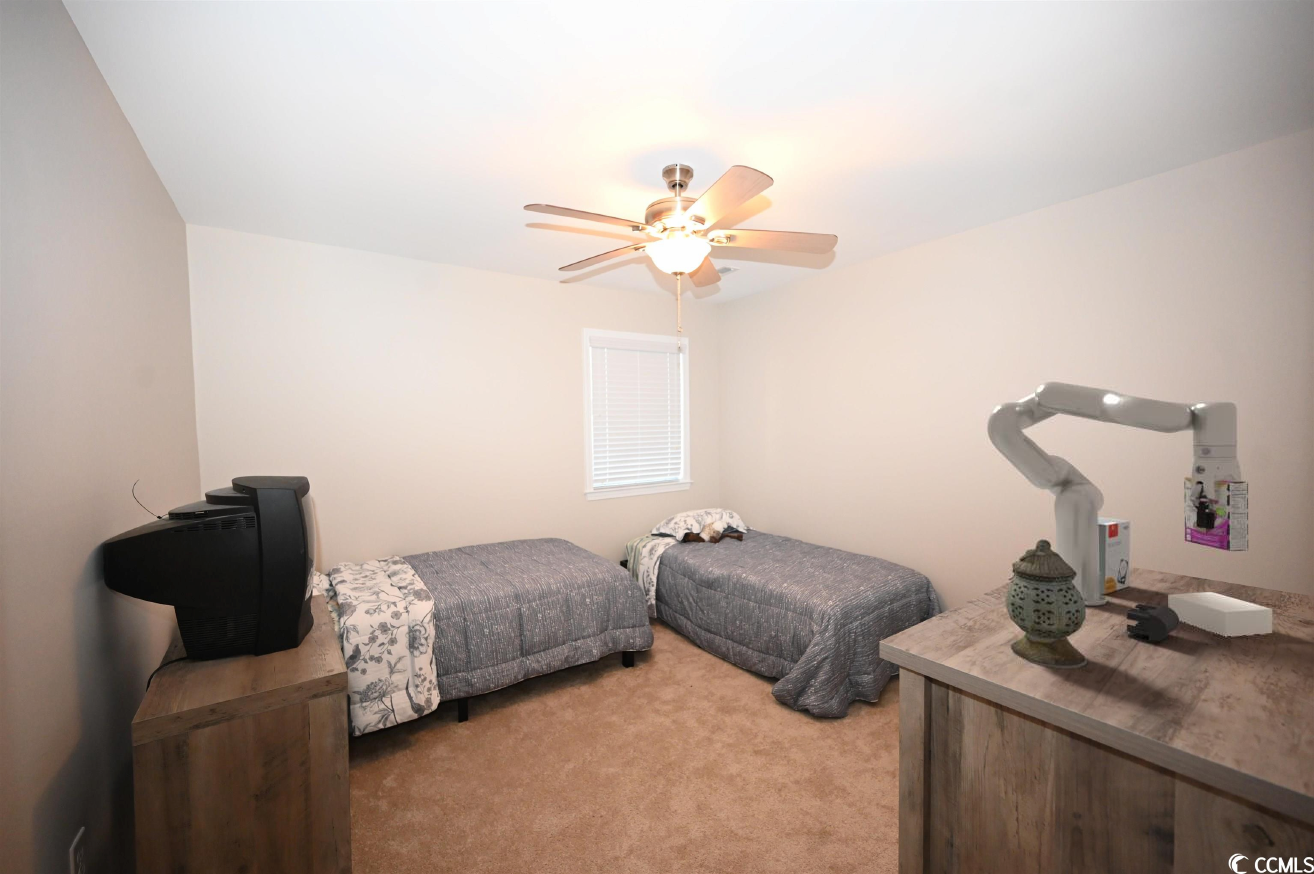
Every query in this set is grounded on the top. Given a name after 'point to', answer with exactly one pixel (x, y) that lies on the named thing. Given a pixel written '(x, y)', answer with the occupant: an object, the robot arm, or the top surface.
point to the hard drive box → (1113, 554)
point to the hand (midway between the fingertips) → (1215, 526)
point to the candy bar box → (1221, 517)
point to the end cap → (1151, 622)
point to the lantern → (1045, 608)
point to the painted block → (1221, 614)
